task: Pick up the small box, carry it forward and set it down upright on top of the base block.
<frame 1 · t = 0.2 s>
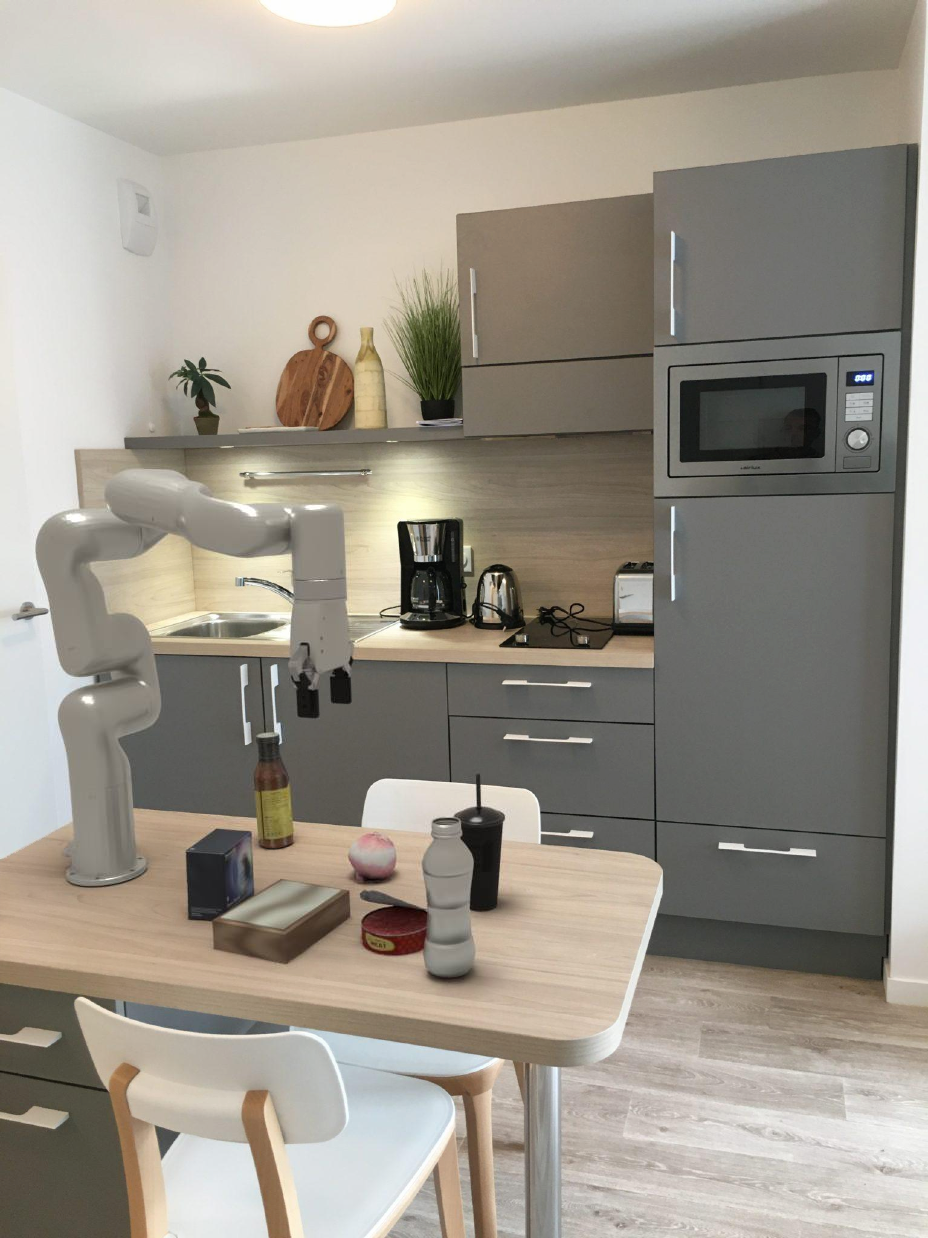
hand: (325, 710, 144), 31 cm above the table, tool pointing down, fingers open, 9 cm apart
small box: (222, 908, 151), on the table
canned food: (397, 942, 139), on the table
drinking cup: (481, 906, 150), on the table
base: (284, 932, 142), on the table
onion: (372, 877, 162), on the table
sauce bottle: (275, 844, 178), on the table
plastic bottle: (450, 973, 129), on the table
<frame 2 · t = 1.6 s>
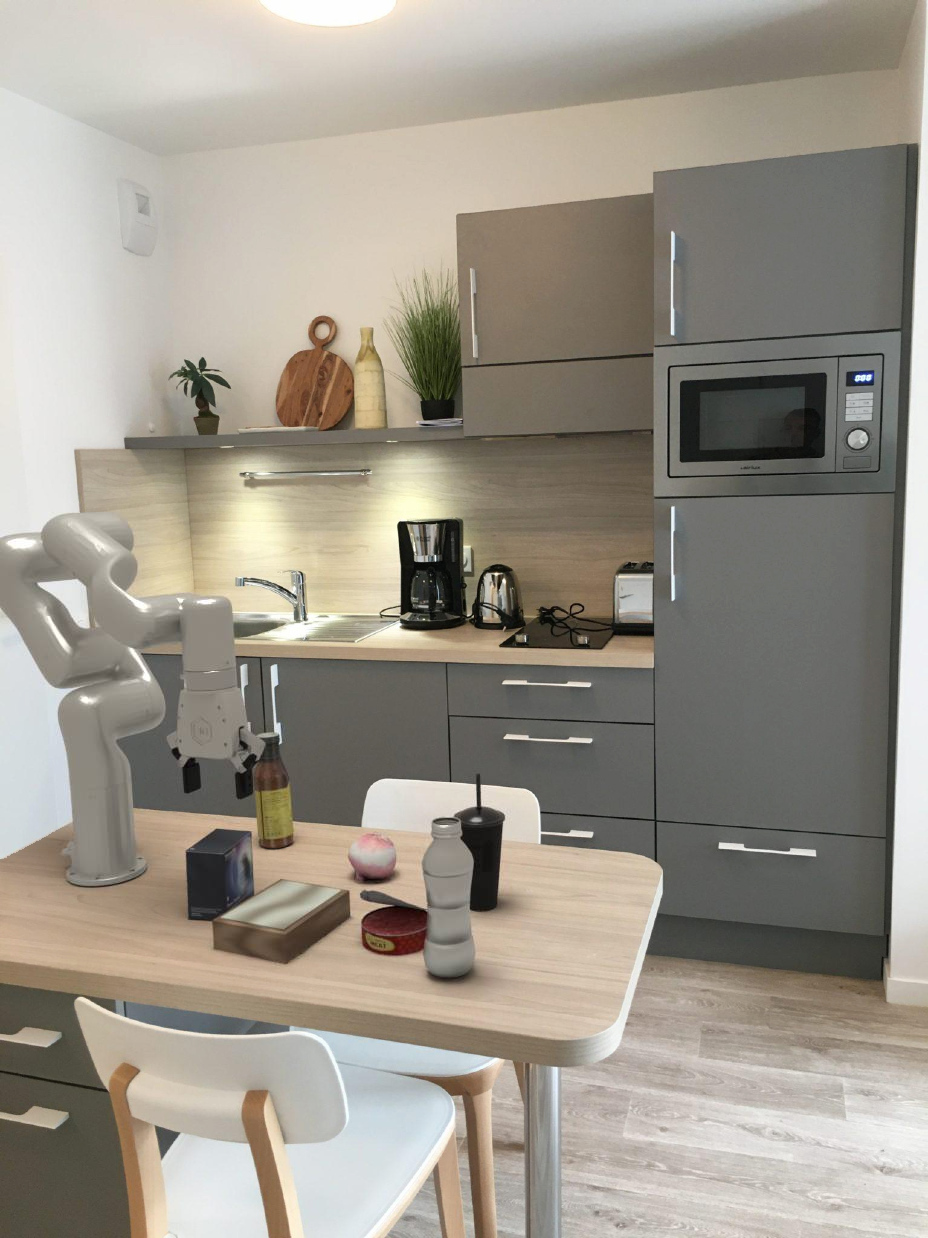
hand: (218, 794, 149), 18 cm above the table, tool pointing down, fingers open, 9 cm apart
nothing on the table moved.
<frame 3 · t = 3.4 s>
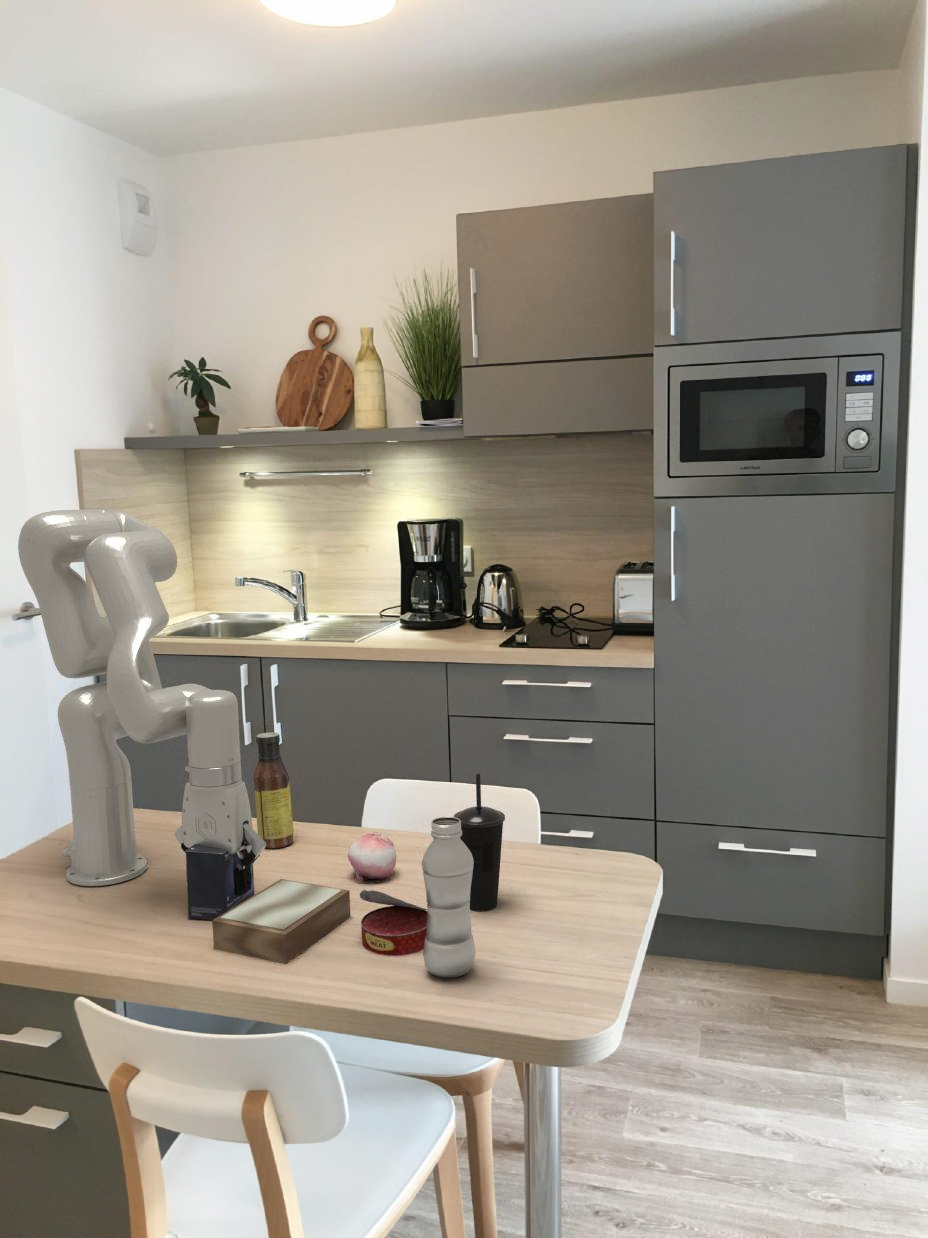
hand: (222, 888, 151), 3 cm above the table, tool pointing down, fingers closed on small box, 7 cm apart
small box: (223, 908, 151), on the table, touching gripper
everything else where it was.
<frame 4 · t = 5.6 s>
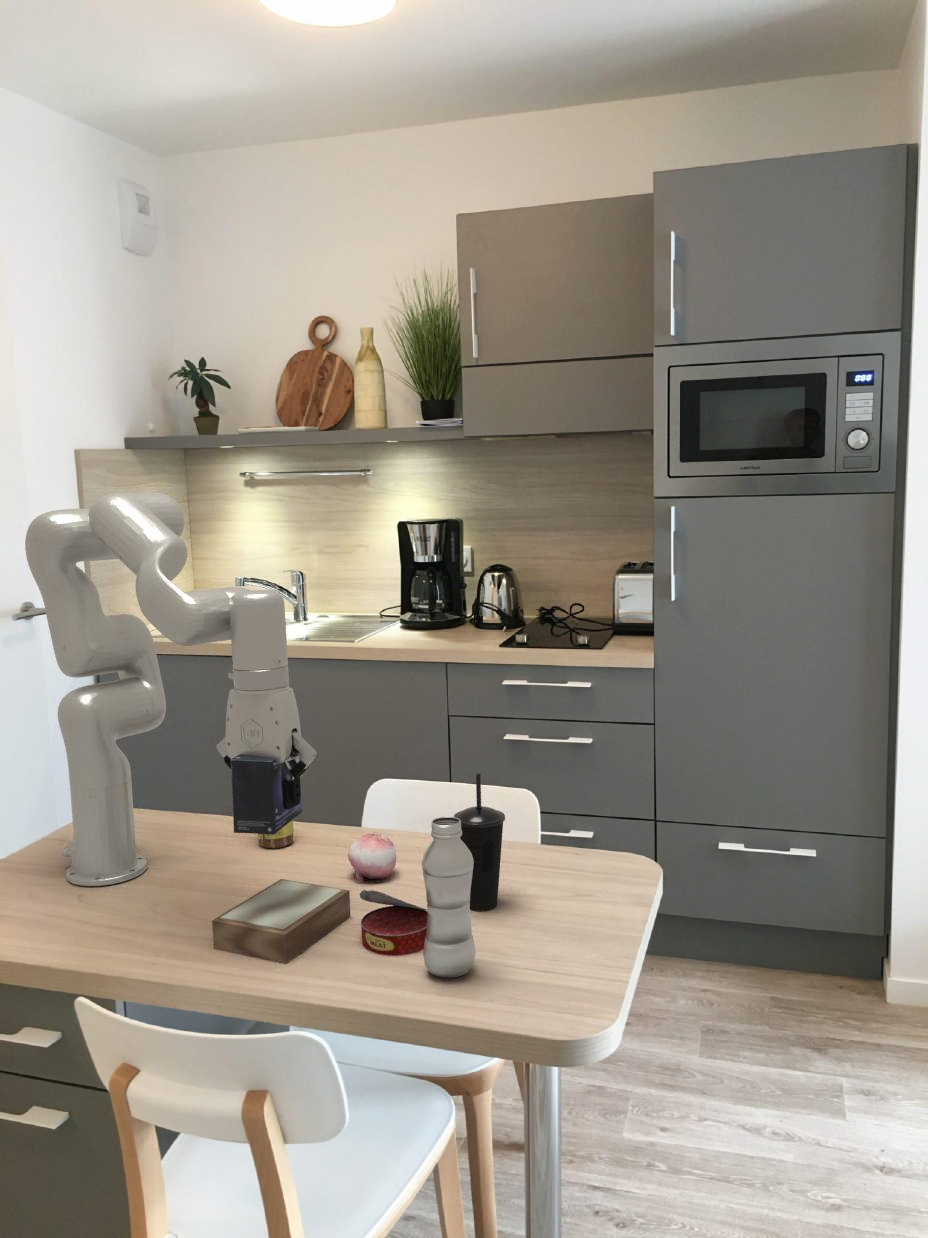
hand: (268, 803, 141), 18 cm above the table, tool pointing down, fingers closed on small box, 7 cm apart
small box: (269, 824, 141), point 15 cm above the table, touching gripper
everything else where it was.
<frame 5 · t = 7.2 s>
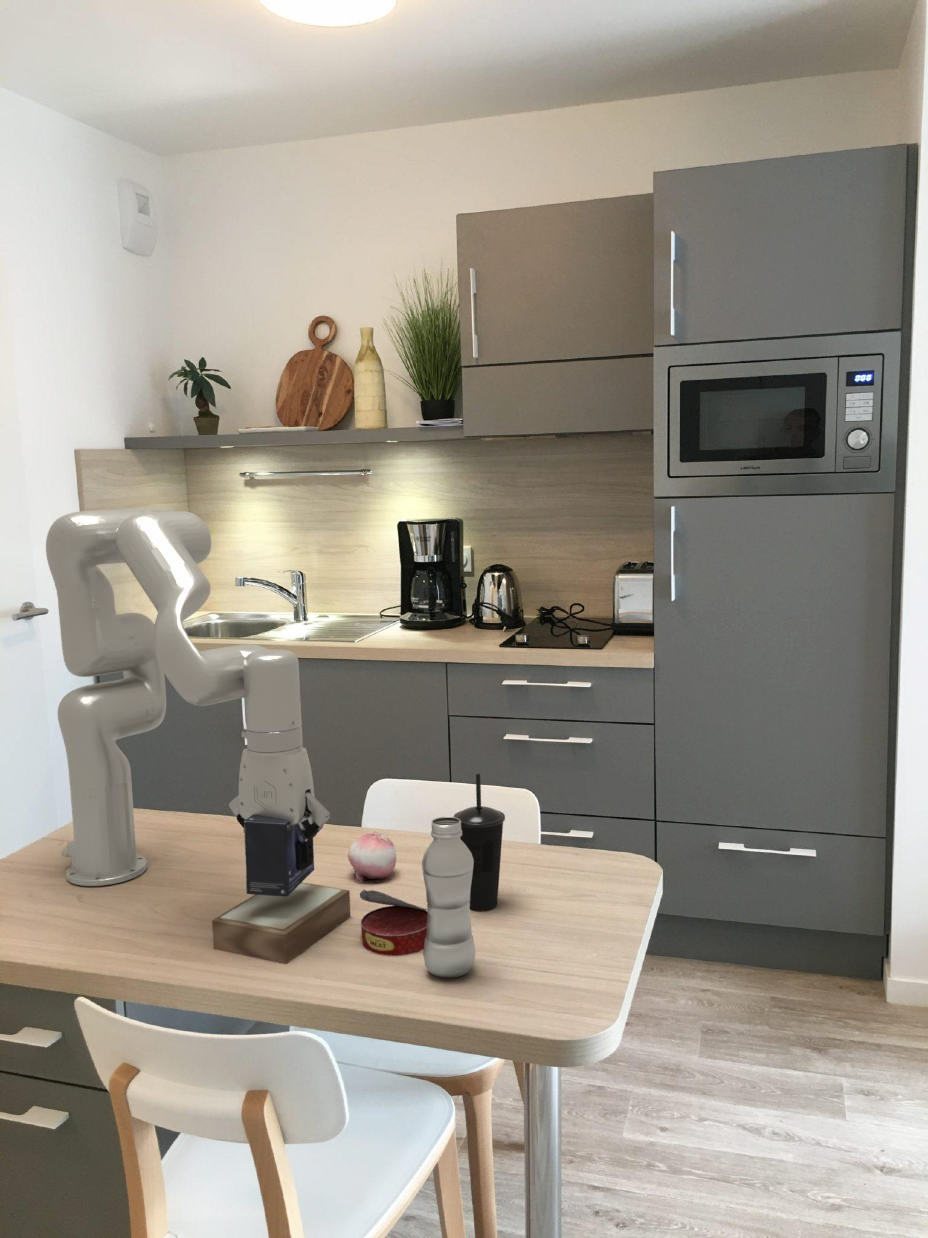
hand: (281, 862, 140), 10 cm above the table, tool pointing down, fingers closed on small box, 7 cm apart
small box: (282, 884, 141), point 7 cm above the table, touching gripper
everything else where it was.
when the fingers open (8 cm above the table, at t = 8.3 s): small box stays where it is, resting on base.
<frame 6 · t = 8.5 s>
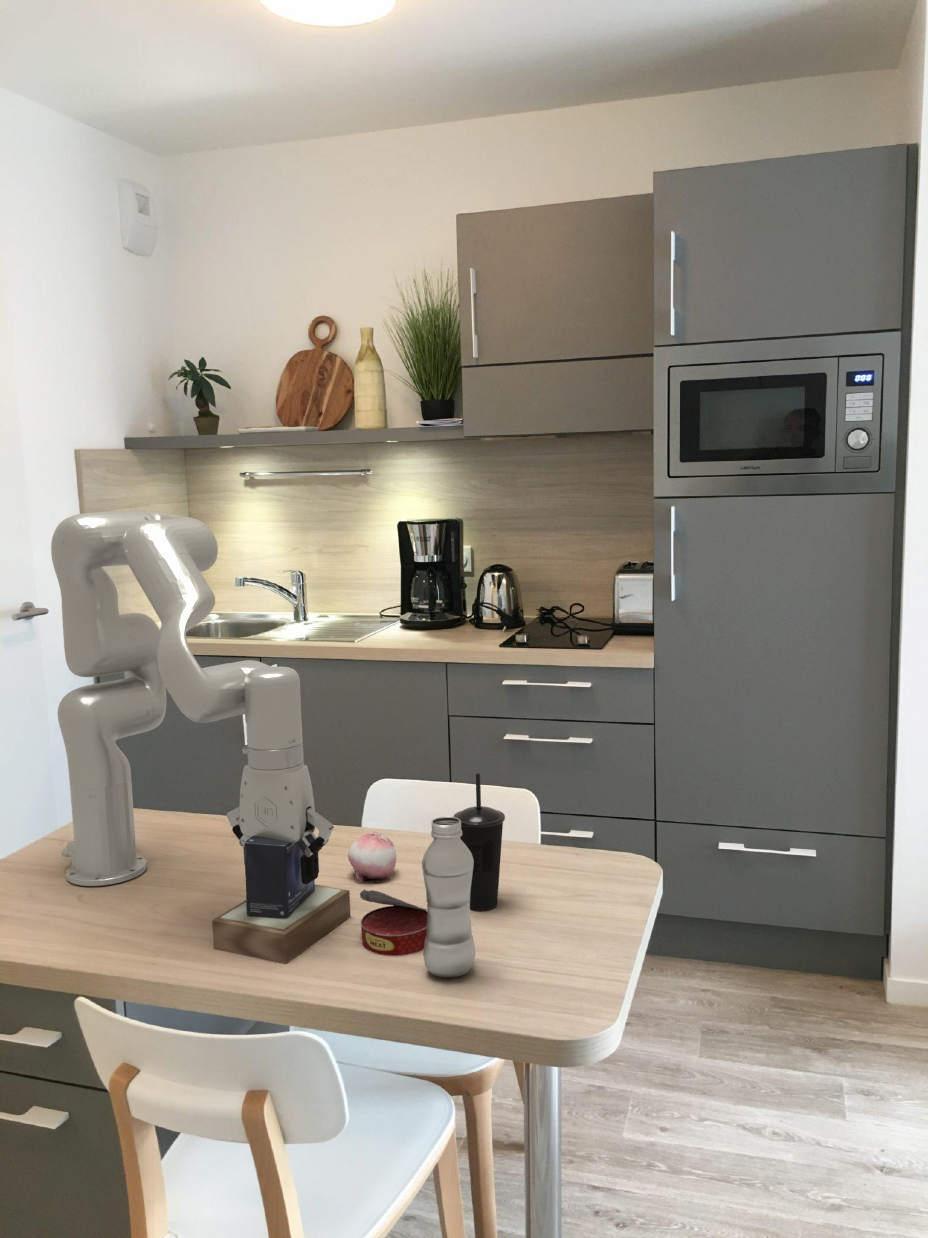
hand: (281, 876, 141), 8 cm above the table, tool pointing down, fingers open, 9 cm apart
small box: (282, 904, 141), point 4 cm above the table, touching base
everything else where it was.
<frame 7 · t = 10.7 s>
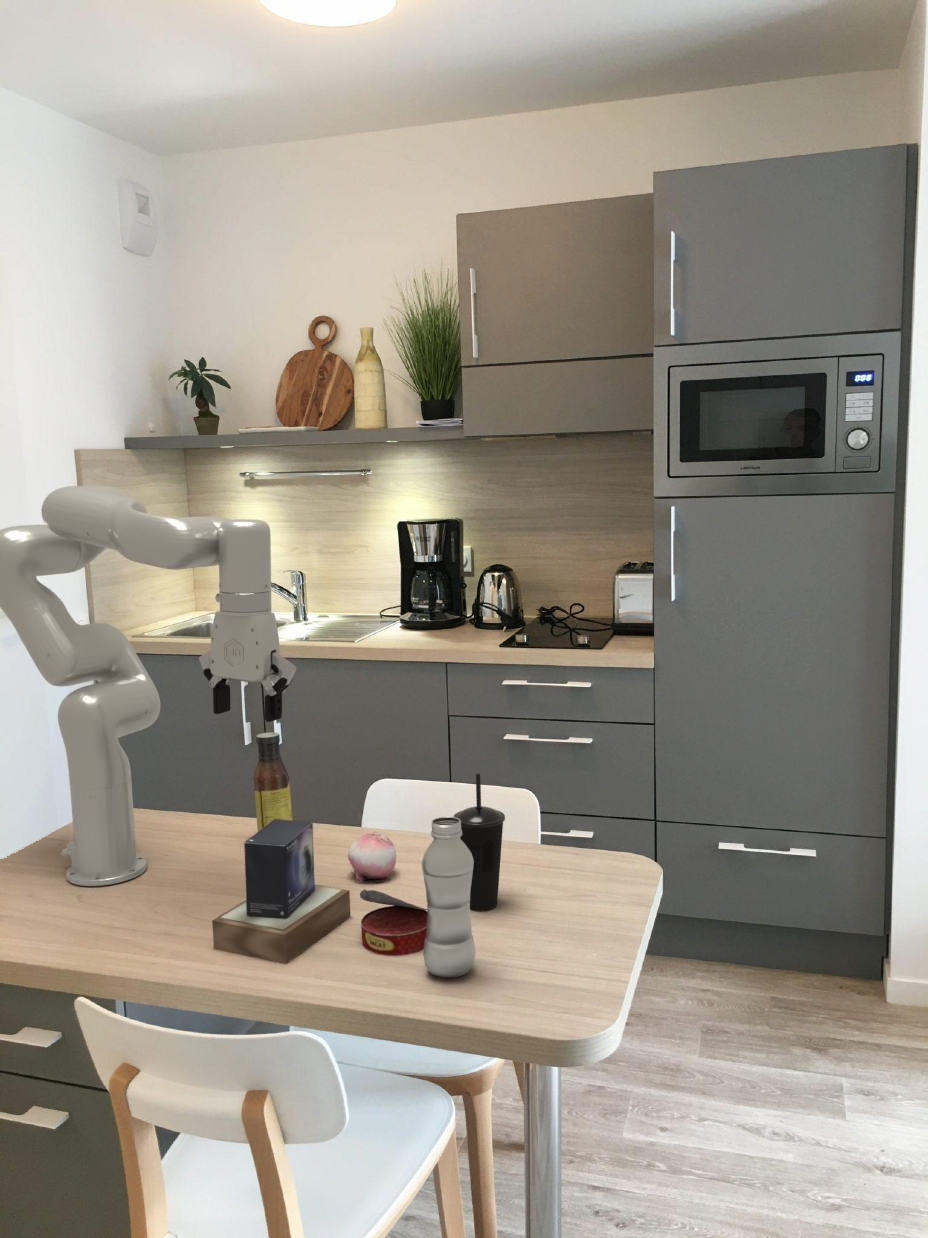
hand: (247, 716, 151), 28 cm above the table, tool pointing down, fingers open, 9 cm apart
nothing on the table moved.
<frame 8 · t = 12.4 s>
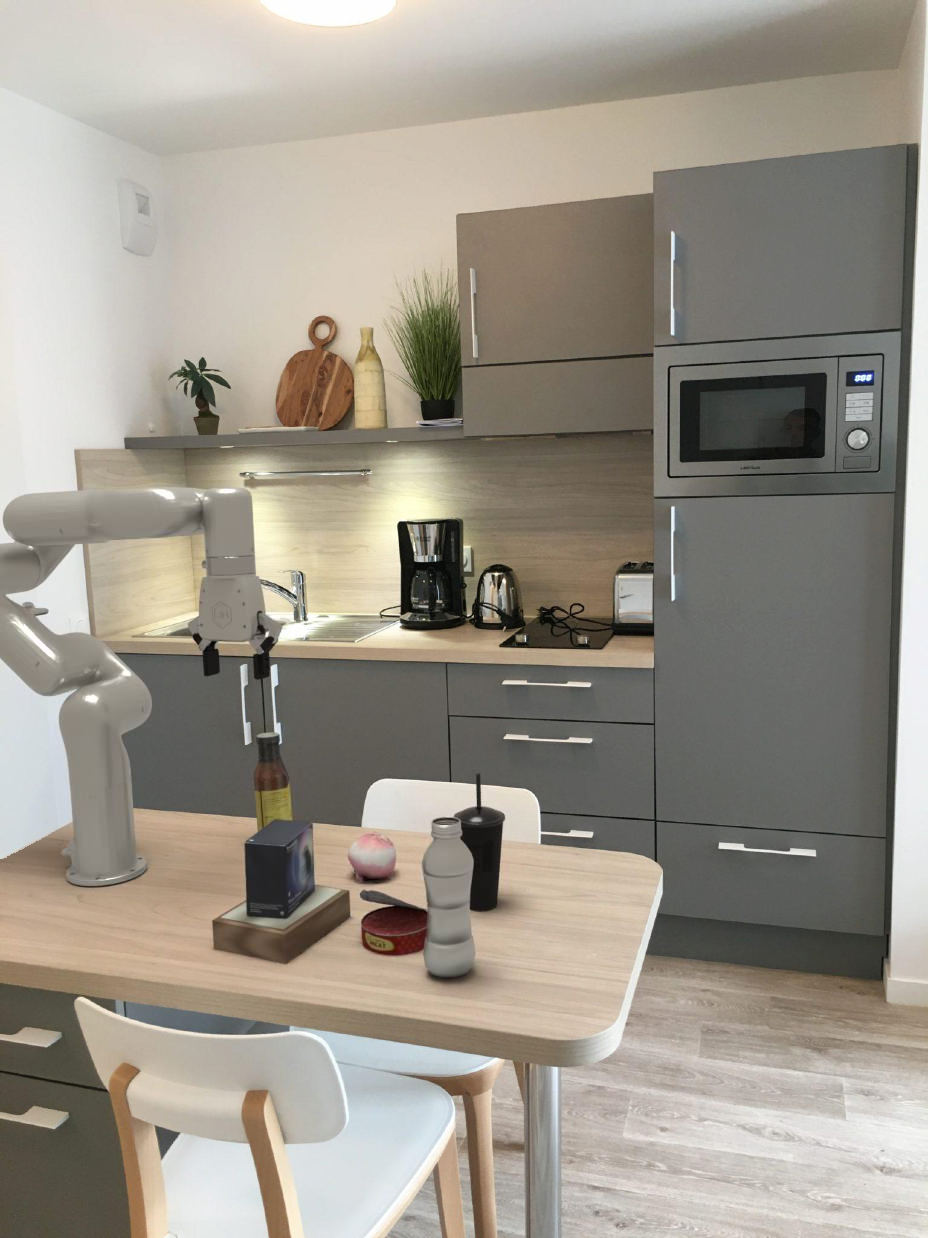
hand: (236, 676, 157), 33 cm above the table, tool pointing down, fingers open, 9 cm apart
nothing on the table moved.
at the end: small box inside the target area on the base (0.1 cm from its centre), point 4.0 cm above the base's base; small box tilted 0°; the gripper is holding nothing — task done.
